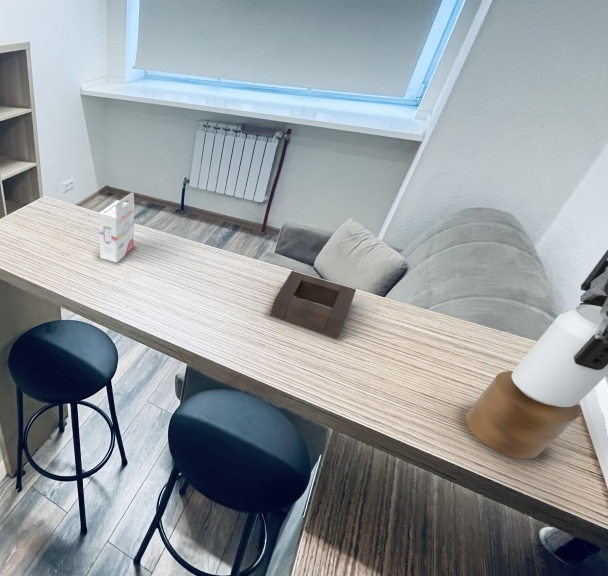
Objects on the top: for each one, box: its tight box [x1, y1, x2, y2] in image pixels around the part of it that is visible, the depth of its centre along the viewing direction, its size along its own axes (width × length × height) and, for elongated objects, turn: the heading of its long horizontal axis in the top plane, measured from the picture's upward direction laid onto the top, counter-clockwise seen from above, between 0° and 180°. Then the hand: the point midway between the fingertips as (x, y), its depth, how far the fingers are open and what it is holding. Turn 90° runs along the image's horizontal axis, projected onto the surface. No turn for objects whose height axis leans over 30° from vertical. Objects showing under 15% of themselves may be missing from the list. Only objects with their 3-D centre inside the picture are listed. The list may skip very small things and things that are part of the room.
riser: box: [464, 370, 581, 460], centre depth 54 cm, size 8×8×8 cm
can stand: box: [269, 270, 357, 339], centre depth 78 cm, size 12×12×4 cm
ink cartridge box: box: [98, 191, 135, 263], centre depth 94 cm, size 9×5×15 cm, turn 149°
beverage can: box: [512, 305, 608, 407], centre depth 48 cm, size 6×6×12 cm
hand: (579, 347), depth 47 cm, fingers closed on beverage can, 6 cm apart
